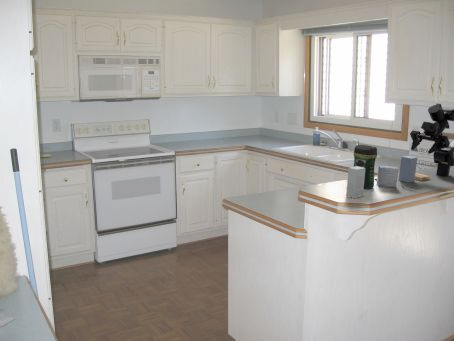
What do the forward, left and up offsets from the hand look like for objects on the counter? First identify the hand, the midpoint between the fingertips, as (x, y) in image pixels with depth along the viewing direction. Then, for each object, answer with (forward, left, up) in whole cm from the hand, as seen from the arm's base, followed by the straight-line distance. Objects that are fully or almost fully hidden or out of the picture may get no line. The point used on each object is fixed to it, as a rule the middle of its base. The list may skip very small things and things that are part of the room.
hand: (419, 151), depth 231 cm
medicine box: (+23, 0, -14) cm, 27 cm away
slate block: (+8, 0, -14) cm, 16 cm away
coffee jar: (+35, -4, -14) cm, 38 cm away
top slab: (-2, 0, -13) cm, 14 cm away
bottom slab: (-2, 0, -15) cm, 15 cm away
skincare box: (+51, +5, -14) cm, 53 cm away
